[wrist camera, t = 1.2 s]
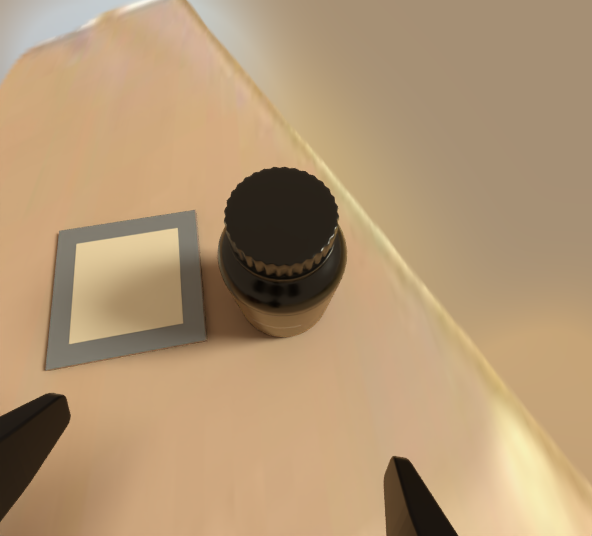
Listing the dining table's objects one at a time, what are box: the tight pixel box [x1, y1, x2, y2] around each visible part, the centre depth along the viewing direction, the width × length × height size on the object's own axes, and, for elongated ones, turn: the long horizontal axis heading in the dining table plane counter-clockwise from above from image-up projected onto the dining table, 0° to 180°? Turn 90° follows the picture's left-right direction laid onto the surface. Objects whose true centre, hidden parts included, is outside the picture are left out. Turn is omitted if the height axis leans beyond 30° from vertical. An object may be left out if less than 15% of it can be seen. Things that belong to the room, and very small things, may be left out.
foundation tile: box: [45, 210, 207, 371], centre depth 24 cm, size 11×11×1 cm
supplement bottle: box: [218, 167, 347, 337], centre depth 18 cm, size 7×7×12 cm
